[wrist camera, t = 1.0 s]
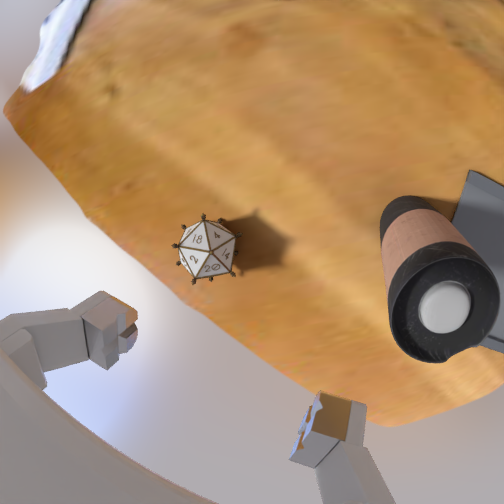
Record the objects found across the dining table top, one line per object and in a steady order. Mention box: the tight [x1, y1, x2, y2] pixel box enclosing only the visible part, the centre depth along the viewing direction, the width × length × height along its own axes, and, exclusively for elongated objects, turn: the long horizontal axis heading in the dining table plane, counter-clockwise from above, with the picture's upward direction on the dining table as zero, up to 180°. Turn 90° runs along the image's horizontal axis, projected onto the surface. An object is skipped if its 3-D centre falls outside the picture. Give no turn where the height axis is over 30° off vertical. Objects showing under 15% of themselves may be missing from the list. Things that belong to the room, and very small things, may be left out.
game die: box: [171, 213, 243, 285], centre depth 38 cm, size 9×8×10 cm
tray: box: [451, 170, 504, 353], centre depth 29 cm, size 20×19×1 cm
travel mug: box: [380, 196, 500, 363], centre depth 24 cm, size 8×8×20 cm
